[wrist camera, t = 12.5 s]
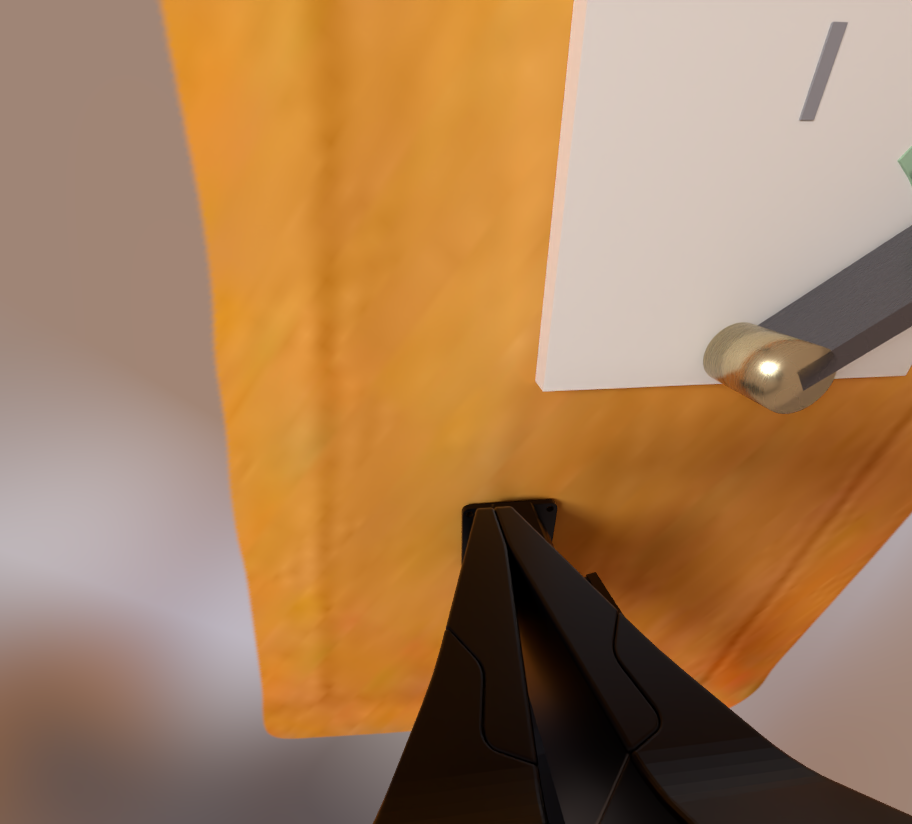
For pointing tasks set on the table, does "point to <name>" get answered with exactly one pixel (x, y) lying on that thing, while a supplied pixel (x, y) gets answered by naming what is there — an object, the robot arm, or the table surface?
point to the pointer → (818, 331)
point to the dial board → (719, 177)
